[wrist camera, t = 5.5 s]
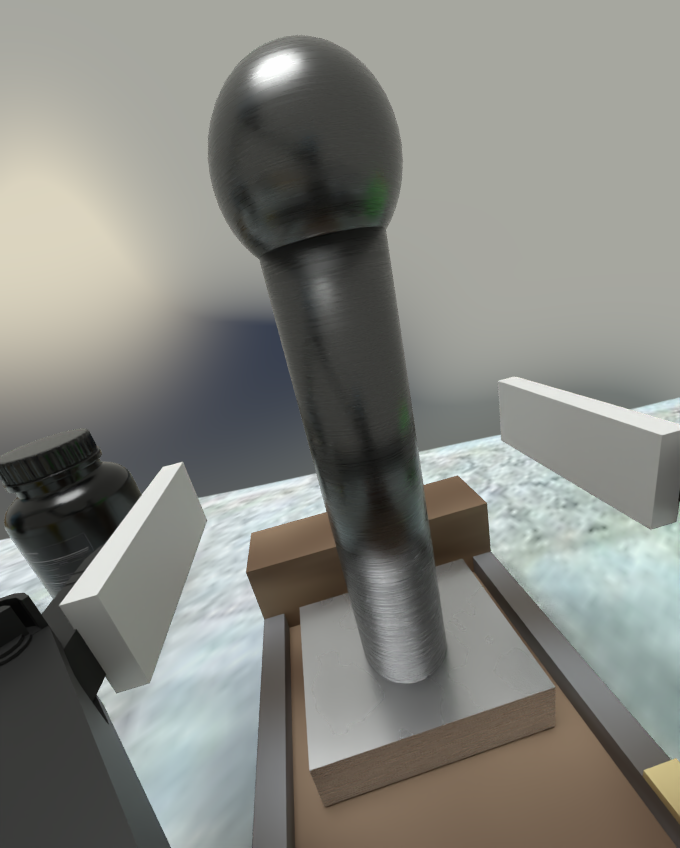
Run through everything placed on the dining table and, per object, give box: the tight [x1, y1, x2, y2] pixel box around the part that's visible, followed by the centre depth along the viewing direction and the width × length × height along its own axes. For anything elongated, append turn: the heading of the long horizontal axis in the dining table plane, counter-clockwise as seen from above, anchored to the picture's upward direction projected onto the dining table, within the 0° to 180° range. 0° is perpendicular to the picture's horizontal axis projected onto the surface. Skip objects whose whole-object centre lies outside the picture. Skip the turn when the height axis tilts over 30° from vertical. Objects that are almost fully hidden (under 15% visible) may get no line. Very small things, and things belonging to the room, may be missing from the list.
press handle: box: [208, 35, 555, 807], centre depth 11 cm, size 6×8×20 cm
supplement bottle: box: [0, 429, 142, 599], centre depth 23 cm, size 7×7×12 cm
